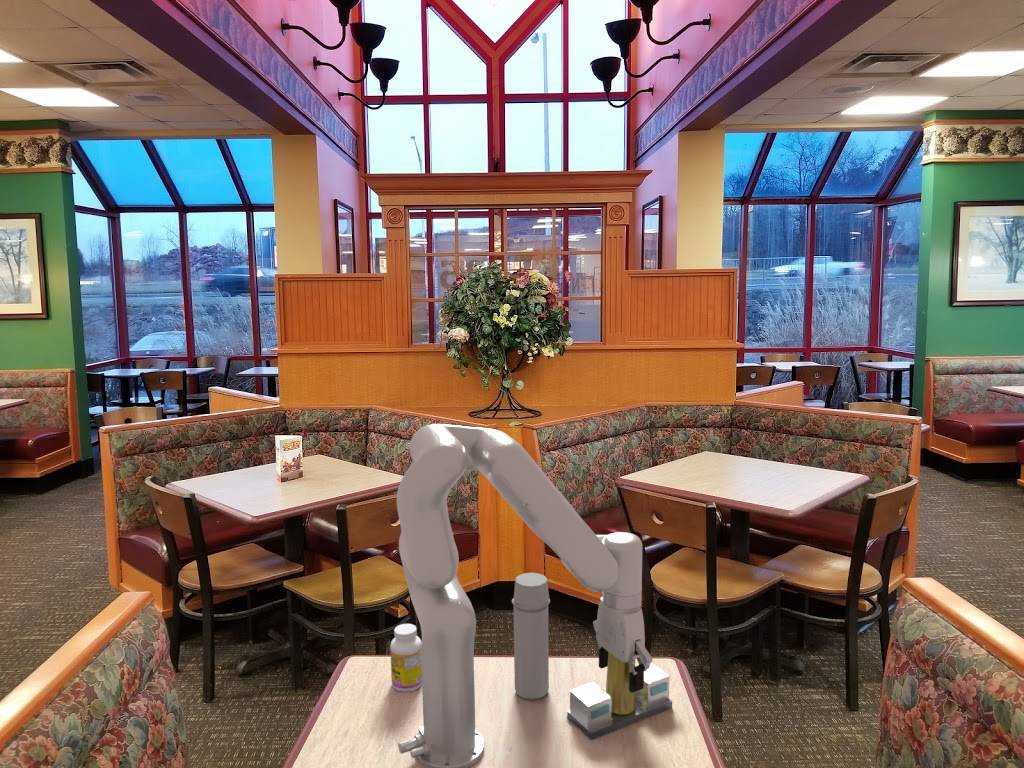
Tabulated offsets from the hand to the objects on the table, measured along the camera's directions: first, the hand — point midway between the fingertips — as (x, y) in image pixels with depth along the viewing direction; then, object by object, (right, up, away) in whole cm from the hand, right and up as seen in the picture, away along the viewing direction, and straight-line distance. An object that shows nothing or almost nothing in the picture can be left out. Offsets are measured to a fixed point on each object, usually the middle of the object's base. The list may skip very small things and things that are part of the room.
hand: (620, 677), depth 145 cm
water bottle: (-17, -6, +10) cm, 21 cm away
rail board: (0, -8, +1) cm, 8 cm away
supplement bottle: (-44, -6, +12) cm, 46 cm away
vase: (0, -6, +1) cm, 6 cm away
